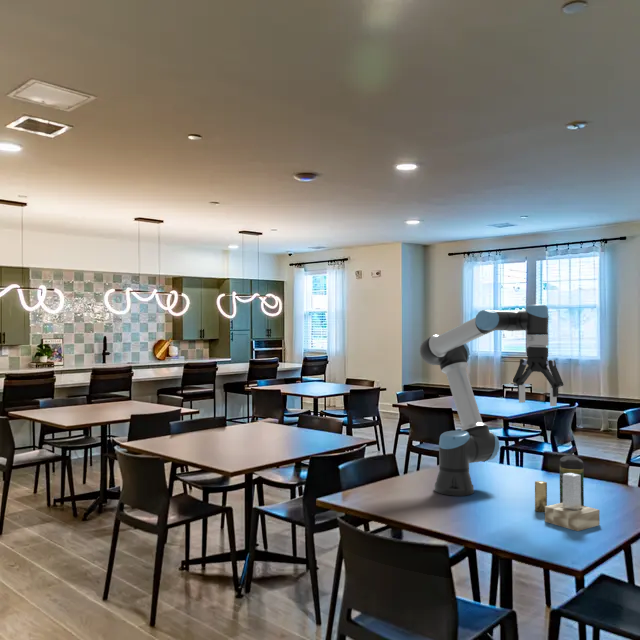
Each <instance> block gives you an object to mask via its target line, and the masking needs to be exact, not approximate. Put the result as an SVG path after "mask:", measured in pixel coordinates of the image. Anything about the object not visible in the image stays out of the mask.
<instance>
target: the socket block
mask: <svg viewBox="0 0 640 640" xmlns="http://www.w3.org/2000/svg"><path fill="white" fill-rule="evenodd" d="M600 517H601V516H600V509H597V508H594V507H591V506H590V507H589V506H586V505H584V506H583V505H581V510H578V511H571V510H568V509H564V508H563V503H560V502H559V503H558V502H557V503H555V504H550V505H547V506H545V512H544V522H545V523H549V524H552V525H556V526H558V527H561V528H566V529H568V530H572V531H576V532H580V531H583V530H587V529H591V528H596V527H598V526H600Z"/></svg>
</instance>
